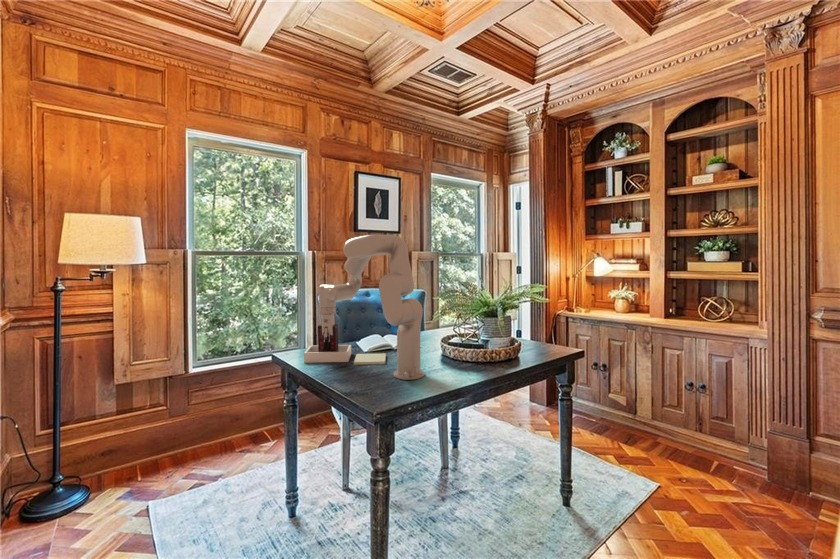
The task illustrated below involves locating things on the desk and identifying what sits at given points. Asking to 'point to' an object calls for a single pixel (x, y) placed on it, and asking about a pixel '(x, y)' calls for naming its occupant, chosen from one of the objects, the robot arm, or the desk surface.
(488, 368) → the desk surface
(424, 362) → the desk surface
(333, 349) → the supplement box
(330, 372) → the desk surface
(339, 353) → the bin
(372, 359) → the board
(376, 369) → the desk surface
